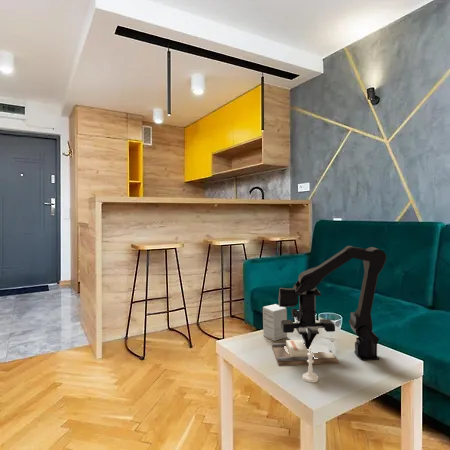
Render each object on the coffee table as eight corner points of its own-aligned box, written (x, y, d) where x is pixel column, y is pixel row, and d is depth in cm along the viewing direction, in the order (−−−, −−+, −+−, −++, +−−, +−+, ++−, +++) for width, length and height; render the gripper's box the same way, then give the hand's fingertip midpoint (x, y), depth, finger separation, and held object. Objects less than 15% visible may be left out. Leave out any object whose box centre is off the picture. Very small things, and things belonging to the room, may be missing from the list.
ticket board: (325, 346, 129) (325, 341, 129) (338, 363, 115) (338, 357, 115) (272, 347, 129) (271, 342, 128) (278, 365, 115) (278, 359, 115)
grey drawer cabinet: (276, 331, 145) (275, 303, 144) (287, 337, 138) (287, 307, 138) (262, 335, 141) (262, 306, 140) (273, 341, 135) (273, 311, 134)
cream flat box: (301, 345, 127) (301, 339, 127) (308, 357, 117) (308, 351, 117) (286, 346, 127) (285, 339, 126) (291, 358, 117) (291, 351, 116)
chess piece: (318, 375, 107) (317, 345, 107) (318, 383, 103) (318, 351, 102) (302, 373, 108) (302, 343, 108) (302, 381, 104) (302, 350, 103)
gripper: (325, 300, 129) (325, 339, 130) (278, 301, 129) (278, 340, 130) (335, 308, 118) (335, 351, 119) (283, 310, 118) (283, 352, 118)
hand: (307, 348), depth 122 cm, fingers closed
